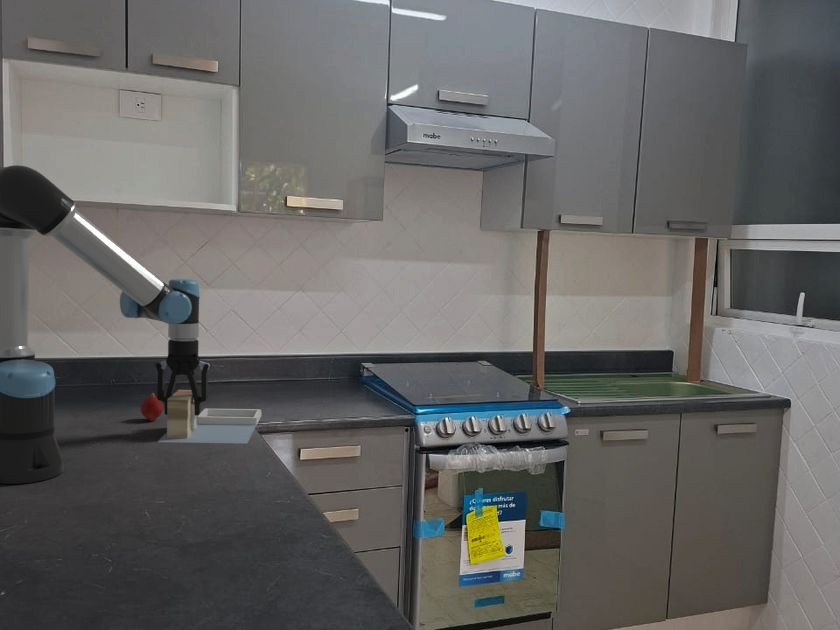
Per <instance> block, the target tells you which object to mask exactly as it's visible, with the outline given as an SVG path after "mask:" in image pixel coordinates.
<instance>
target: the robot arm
mask: <svg viewBox="0 0 840 630" xmlns="http://www.w3.org/2000/svg"><path fill="white" fill-rule="evenodd" d="M76 207H77V206H76V202H75V201H74V200H73V199H72V198H71V197H69V196H68V195H67V194H66V193H65V192H63V191H62V190H61V189H60V188H59V187H58V186H57V185H56V184H54V183H53V182H52V181H51V180H49V179H48V178H47V177H46V176H44V175H43V174H42V173H41V172H39V171H37V170H36V169H34V168H31V167H29V166H25V165H17V164H16V165H10V166H9V165H8V166H2V167H0V484H1V485H17V484H18V485H19V484H28V483H36V482H42V481H45V480H50V479H53V478H54V477H57V476H59V475H61V474H62V473H63V472H64V468H65V467H64V464H65V463H64V458H63V454H62V452H61V448H60V446H59V444H58V441H57V439H56V435H55V434H56V433H55V419H56V418H55V417H56V415H55V410H56V409H55V405H56V404H55V403H56V402H55V399H56V397H55V394H56V393H55V392H56V389H55V388H56V378H55V372H54V371H55V370H54V368H53V367H52V366H51V365H50V364H49V363H46V362H43V361H40V360H39V361H36V351H34V350H33V349H32V348H31V347H30V346H29V344H28V343H29V342H28V340H29V337H28V336H29V333H28V332H29V298H30V297H29V291H30V288H29V287H30V284H29V283H30V244H31V243H30V241H31V238H32V237H33V236H34V235H35V234H37V233H39V234H40V235H42V236H43V237H45V236H46V237H47V236H49V237H50V236H51V237H52V238H54V239H55V240H56V241H57V242H59V243H60V244H61V245H62V246H64V248H66V249H68V250H69V251H70V252H71V253H73V254H74V255H75V256H77V257H78V258H79V259H81V260H82V261H83V262H84V263H86V264H87V265H88V266H90V267H91V268H92V269H93V270H95V271H96V272H97V273H99V274H100V275H101V276H103V277H104V278H105V279H107V280H108V281H109V282H110V283H111V284H113V285H114V286H115V287H117V288H118V289H119V290H120V291H121V293H120V296H119V308H120V309H119V310H120V312H121V314H122V316H124V317H125V318H126V319H141V318H142V319H150V320H154V321H158V322H163V323H166V324H168V326H167V328H168V331H167V337H168V338H169V340H168V341H167V357H166V359H165V360H163V361H162V360H161V361H158V362H157V363H155V368H156V370H157V387H156V388H157V390H156V394H157V395H156V397H157V399H158V400H159V401H161V402H163V403H164V415H165V416H167V399H168V398H170V397H171V396H172V395H173V394H174V391H175V387H176V383H177V381H178V377H179V376H180V375H183V376H186V377H187V379H188V382H189V387H190V390H191V391H192V395H193V399H194V402H193V403H192V404H191V429H194V428H195V427H196V415H199V414H200V412H201V403H203V402H206V401H208V400H207V399H208V397H209V384H208V383H209V369H210V367H211V363H210V362H205V361H201V359H200V356H199V340H198V338H199V337H200V335H199V333H200V332H199V331H200V325H199V324H200V321H199V319H200V318H199V315H200V286H199V281H197V280H196V279H191V278H190V279H187V278H186V279H185V278H175V279H170V280H169V281H168V284H167V283H166V282H164V281H163V280H162V279H161V278H159V277H158V275H156V274H154V273H153V271H151V270H150V269H148V268H147V267H146V266H145V265H144V264H142V262H140V261H139V260H138V259H137V258H136V257H134V256H133V255H132V254H131V253H129V251H127V250H125V248H123V247H122V246H121V245H120V244H119V243H117V242H116V241H115V240H113V239H112V238H111V237H110V236H109V235H108V234H106V233H105V232H104V231H103V230H102V229H100V228H99V227H98V226H97V225H95V224H94V223H93V222H92V221H90V220H89V219H88V218H87V217H86V216H85V215H83V214H82V213H81V212H80V211H79V210H77V208H76ZM198 366H199V369H200V371H201V373H200V374H201V376H200V379H201V380H200V381H201V384H200V385H201V389H200V390H201V391H199V386H198V383H197V379H196V374H195V370H196V369H197V368H198ZM167 367H168V368H169V369H170V370H171V375H170V379H169V383H168V386H167V391H166V393H165V384H166V383H165V379H166V377H165V376H166V371H165V370H166V369H167ZM200 392H201V393H200ZM200 395H201V396H200Z"/></svg>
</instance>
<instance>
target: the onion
mask: <svg viewBox="0 0 840 630" xmlns="http://www.w3.org/2000/svg"><path fill="white" fill-rule="evenodd" d="M162 402H163V401H161V400H160V401H159V400H158V399H157V396H155V393H154V392H153V393H152V392H151V394H150V395H148V397H146V398H145V399H144V400H143V402H142V403H141V406H140V411H141V415H142V416H143V417H144V418H145V419H147V420H148V421H150V422H155V421H156V420H157V419H158V418H159V417H160V416H161V414H162V413H163V410H164V405H163V403H162Z"/></svg>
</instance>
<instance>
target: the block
mask: <svg viewBox="0 0 840 630" xmlns="http://www.w3.org/2000/svg"><path fill="white" fill-rule="evenodd" d="M193 402H194V399H193V395H192V391H191V389H178V390H176V391H175V392H173V395H172V396H171V397H170V398H168V399H167V415H166V419H167V421H166V422H167V423H166V432H167V438H188V437H189V436H190V435H191V433H192V432H193V431H194V430H195V429H196V427H197V415H196V427H195V428H194V429H191V404H192V403H193Z"/></svg>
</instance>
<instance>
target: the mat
mask: <svg viewBox="0 0 840 630" xmlns="http://www.w3.org/2000/svg"><path fill="white" fill-rule="evenodd" d="M201 412H202V411H200V413H201ZM199 415H200V414H199ZM199 415H197V417H198V416H199ZM262 416H263V413H261V417H260V419H261V418H262ZM215 417H229V416H215ZM256 427H257V425H216V424H197V427H196V429H195V430H194V431H193V432H192V433H191V435H190V436H189V437H188V438H167V431H166V432H165V433H164V434H163V435H162V436H161V437H160V438H159V440H158V441H157V443H167V444H168V443H173V444H174V443H176V444H177V443H180V444H181V443H182V444H183V443H184V444H185V443H187V444H241V445H242V444H248V442H249V441H250V439H251V437H252V435H253V433H254V431H255V429H256Z"/></svg>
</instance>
